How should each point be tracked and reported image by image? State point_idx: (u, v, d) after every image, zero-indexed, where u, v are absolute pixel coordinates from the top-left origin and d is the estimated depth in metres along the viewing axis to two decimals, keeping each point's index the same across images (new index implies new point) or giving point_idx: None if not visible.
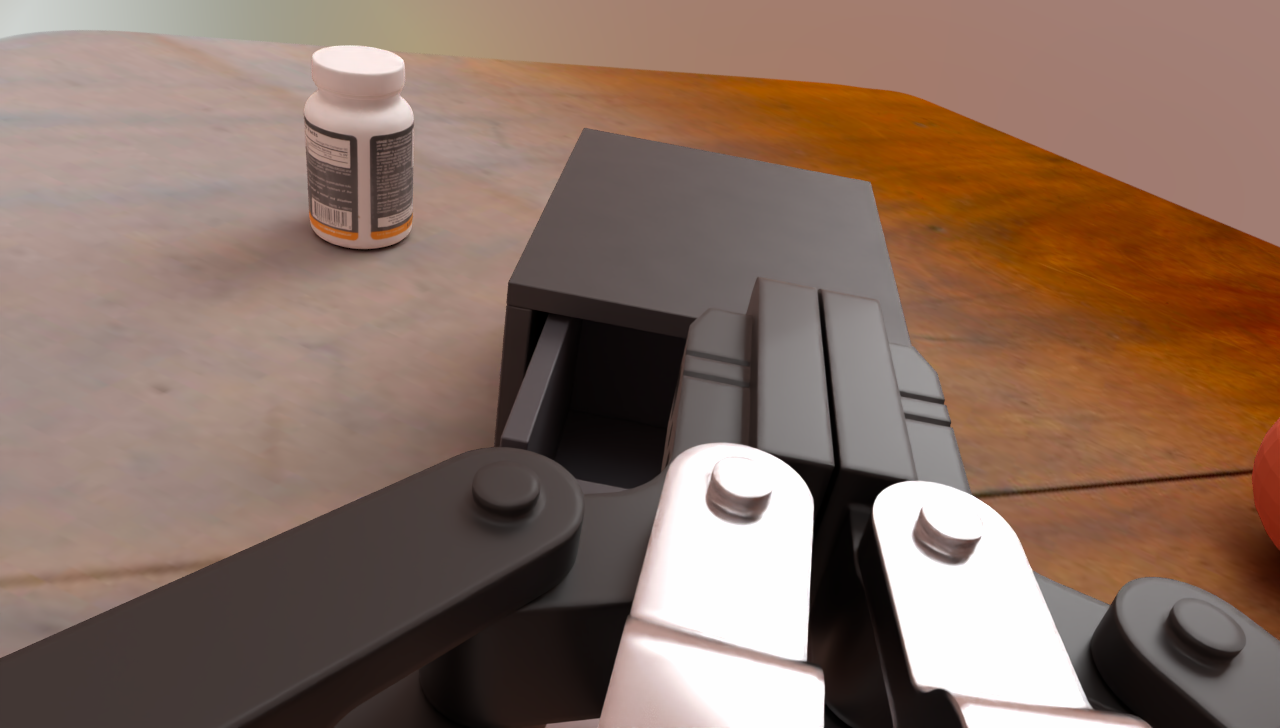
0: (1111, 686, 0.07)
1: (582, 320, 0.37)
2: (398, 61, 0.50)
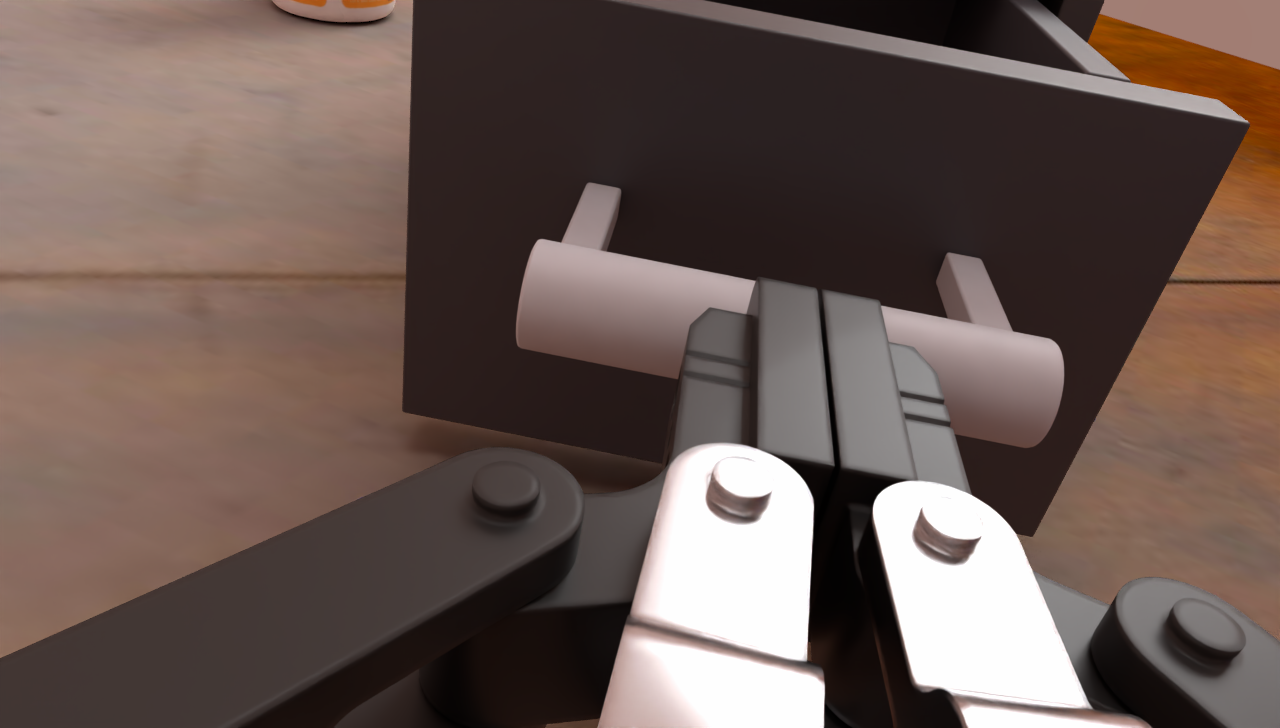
0: (1112, 685, 0.07)
1: None
2: None
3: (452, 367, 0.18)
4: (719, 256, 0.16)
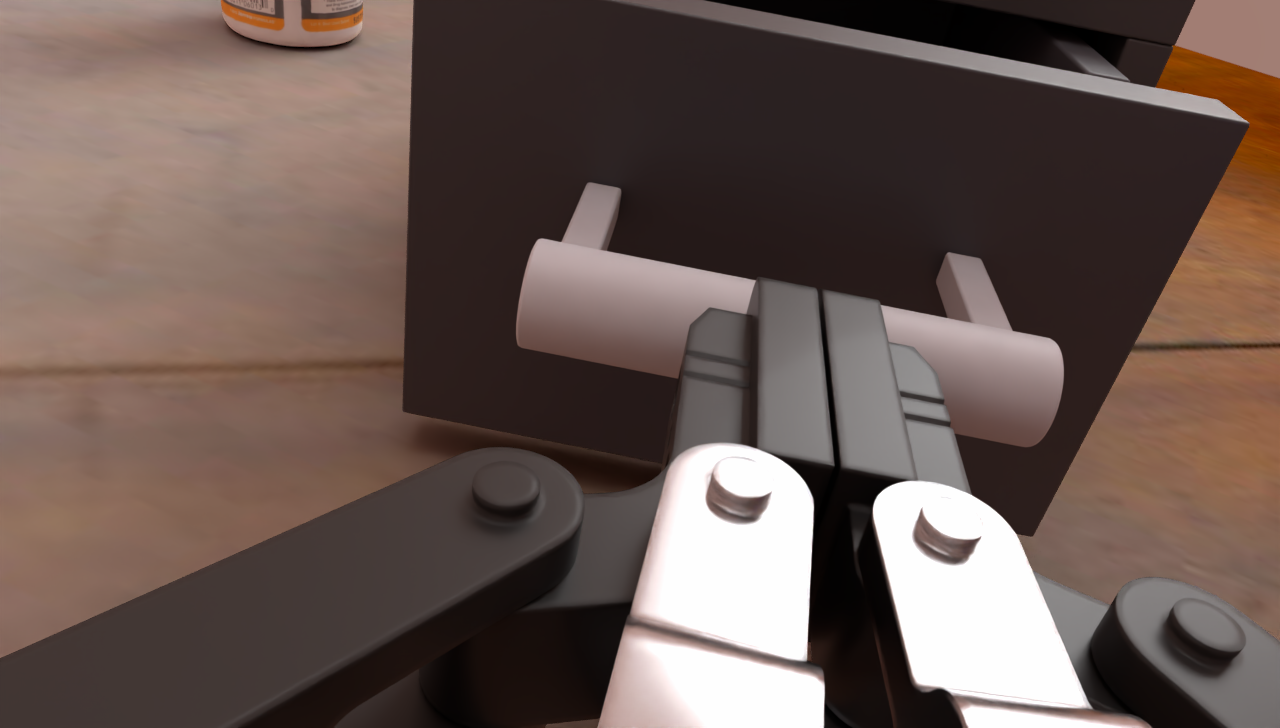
0: (1110, 684, 0.07)
1: None
2: None
3: (452, 367, 0.18)
4: (719, 255, 0.16)
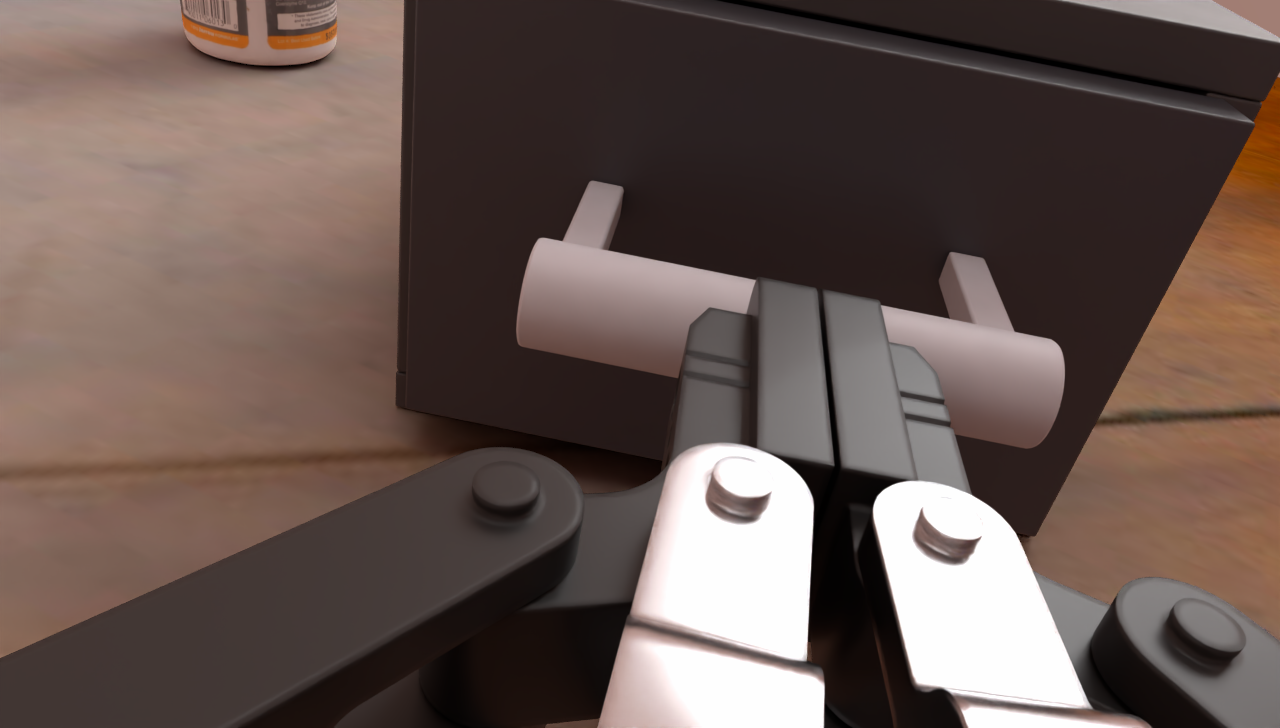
0: (1111, 686, 0.07)
1: None
2: None
3: (455, 364, 0.18)
4: (721, 254, 0.16)
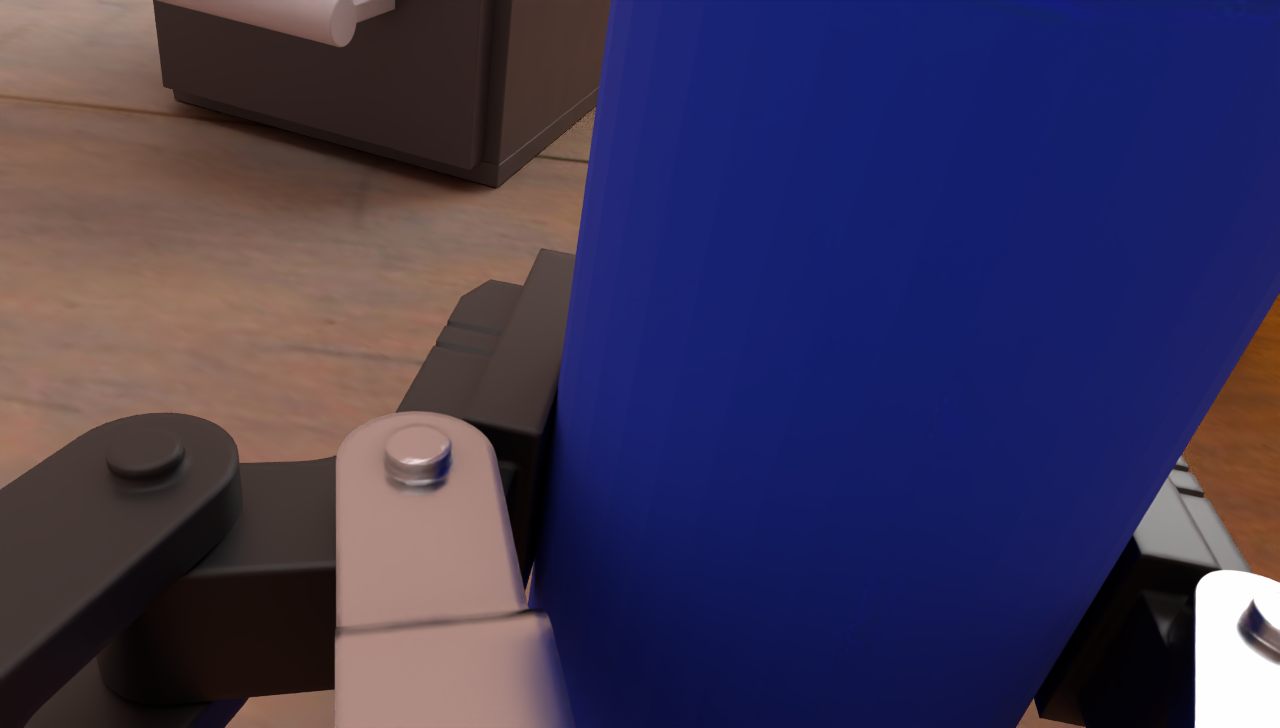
0: None
1: None
2: None
3: (181, 58, 0.35)
4: None
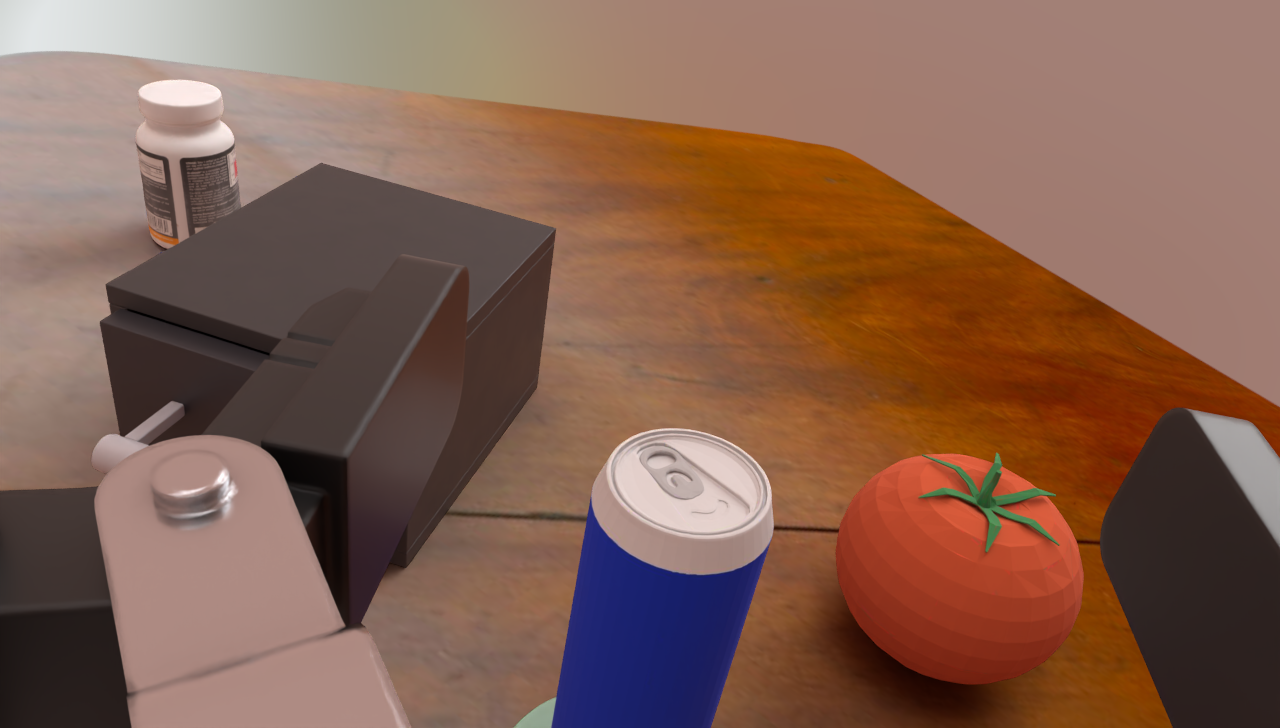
0: None
1: None
2: (215, 95, 0.58)
3: None
4: None
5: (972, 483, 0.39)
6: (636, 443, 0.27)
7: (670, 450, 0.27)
